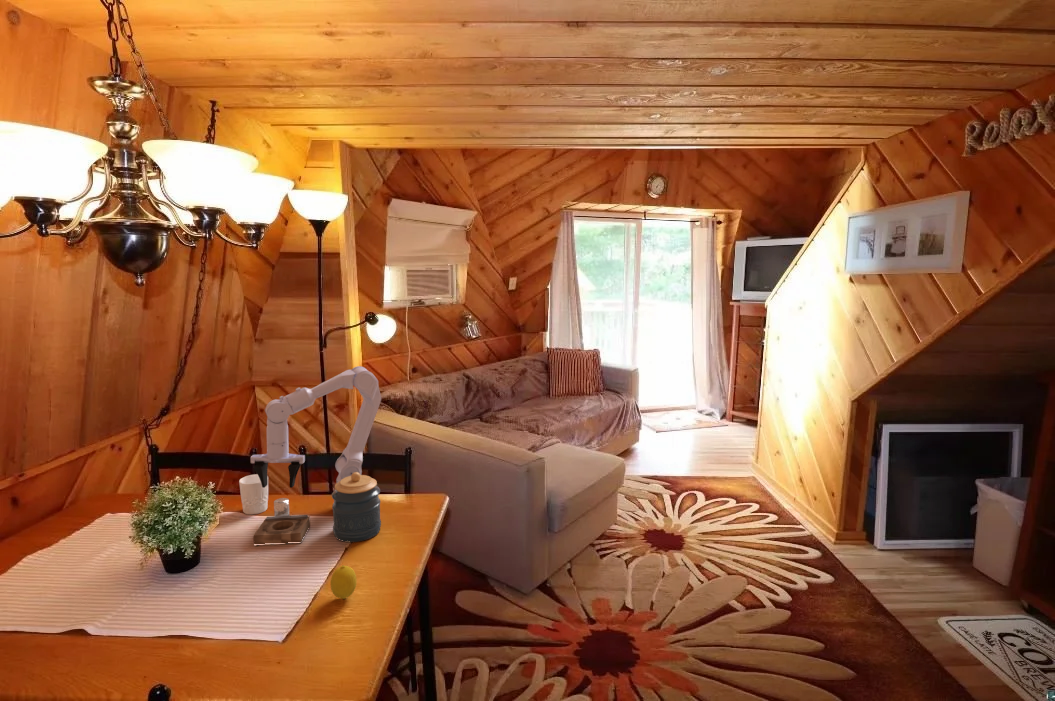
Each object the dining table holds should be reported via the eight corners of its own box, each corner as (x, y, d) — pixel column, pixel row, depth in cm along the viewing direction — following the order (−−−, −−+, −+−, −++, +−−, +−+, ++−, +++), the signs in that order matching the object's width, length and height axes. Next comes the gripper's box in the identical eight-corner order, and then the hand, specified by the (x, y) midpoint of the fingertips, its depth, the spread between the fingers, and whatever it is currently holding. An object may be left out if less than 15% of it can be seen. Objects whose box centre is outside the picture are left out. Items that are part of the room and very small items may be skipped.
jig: (310, 526, 155) (309, 514, 155) (300, 543, 145) (300, 531, 145) (266, 528, 153) (265, 516, 153) (253, 546, 143) (252, 533, 143)
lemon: (359, 591, 124) (358, 559, 123) (352, 606, 119) (351, 572, 117) (335, 591, 124) (334, 559, 123) (327, 606, 118) (326, 572, 117)
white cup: (235, 513, 162) (233, 481, 161) (255, 502, 170) (253, 472, 168) (256, 517, 160) (254, 485, 159) (275, 506, 167) (273, 475, 166)
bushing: (291, 516, 161) (290, 497, 160) (287, 522, 157) (286, 503, 156) (277, 517, 160) (276, 498, 159) (273, 523, 156) (271, 504, 155)
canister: (367, 545, 145) (365, 483, 142) (323, 540, 147) (321, 478, 145) (389, 524, 157) (387, 466, 155) (348, 519, 160) (346, 462, 157)
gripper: (245, 445, 151) (246, 491, 152) (299, 445, 152) (299, 491, 154) (255, 437, 157) (256, 482, 159) (306, 438, 159) (307, 482, 161)
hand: (278, 486), depth 157 cm, fingers open, 7 cm apart
